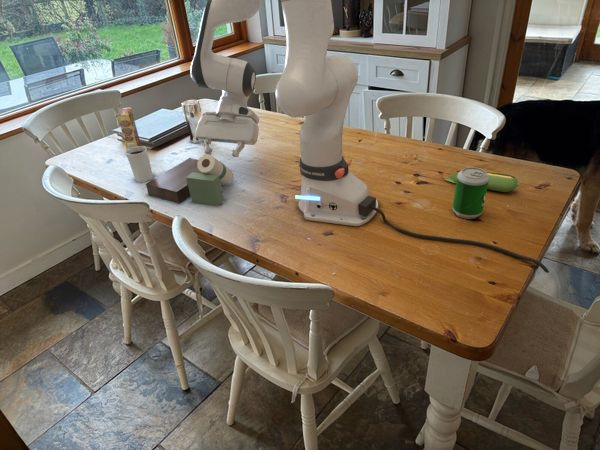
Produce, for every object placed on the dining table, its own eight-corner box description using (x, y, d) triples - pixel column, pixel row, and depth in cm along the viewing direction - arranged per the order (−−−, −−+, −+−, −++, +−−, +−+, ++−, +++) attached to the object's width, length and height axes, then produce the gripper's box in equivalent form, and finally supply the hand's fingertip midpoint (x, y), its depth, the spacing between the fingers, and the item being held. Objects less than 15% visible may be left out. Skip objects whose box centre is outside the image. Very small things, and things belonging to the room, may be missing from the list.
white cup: (144, 172, 149) (136, 145, 144) (158, 175, 146) (151, 148, 141) (129, 180, 145) (120, 152, 139) (143, 184, 142) (135, 156, 136)
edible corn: (515, 196, 120) (519, 182, 117) (442, 184, 128) (443, 170, 126) (517, 188, 124) (521, 174, 121) (446, 176, 132) (447, 163, 130)
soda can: (478, 223, 110) (486, 181, 104) (448, 216, 114) (454, 175, 107) (484, 209, 116) (493, 168, 109) (456, 203, 119) (462, 163, 113)
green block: (197, 196, 132) (192, 172, 128) (223, 200, 129) (219, 175, 125) (191, 202, 129) (185, 177, 125) (218, 206, 127) (213, 180, 122)
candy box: (140, 153, 163) (128, 114, 155) (128, 155, 163) (116, 115, 154) (141, 144, 170) (131, 106, 162) (130, 146, 170) (119, 108, 161)
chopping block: (221, 175, 143) (219, 164, 141) (179, 203, 129) (176, 191, 127) (191, 168, 149) (189, 157, 147) (148, 195, 135) (145, 183, 133)
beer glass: (203, 143, 167) (195, 105, 159) (186, 143, 169) (177, 105, 161) (209, 136, 173) (202, 99, 165) (193, 136, 174) (185, 99, 166)
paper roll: (222, 178, 141) (214, 141, 134) (237, 180, 139) (231, 142, 132) (201, 198, 131) (192, 159, 124) (217, 200, 129) (209, 160, 122)
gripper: (197, 106, 136) (186, 148, 133) (256, 110, 129) (246, 154, 127) (207, 115, 141) (197, 155, 139) (264, 119, 135) (254, 161, 133)
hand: (221, 155), depth 133 cm, fingers open, 8 cm apart
